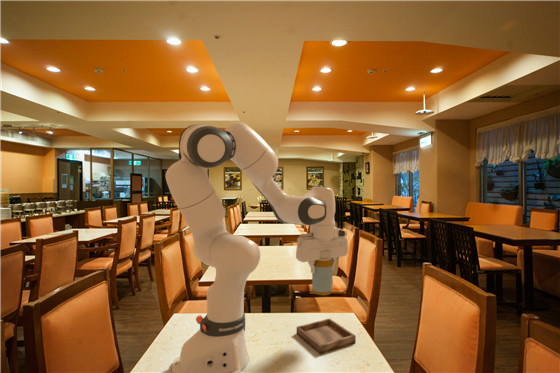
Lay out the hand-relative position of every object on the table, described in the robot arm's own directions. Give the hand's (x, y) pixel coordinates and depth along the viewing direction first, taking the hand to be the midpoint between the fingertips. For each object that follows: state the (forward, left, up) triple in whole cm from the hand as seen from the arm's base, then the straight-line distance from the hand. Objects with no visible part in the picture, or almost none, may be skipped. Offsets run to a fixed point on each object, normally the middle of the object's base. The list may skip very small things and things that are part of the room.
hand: (322, 271), depth 106 cm
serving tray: (0, -1, -23) cm, 23 cm away
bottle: (0, 0, -8) cm, 8 cm away
